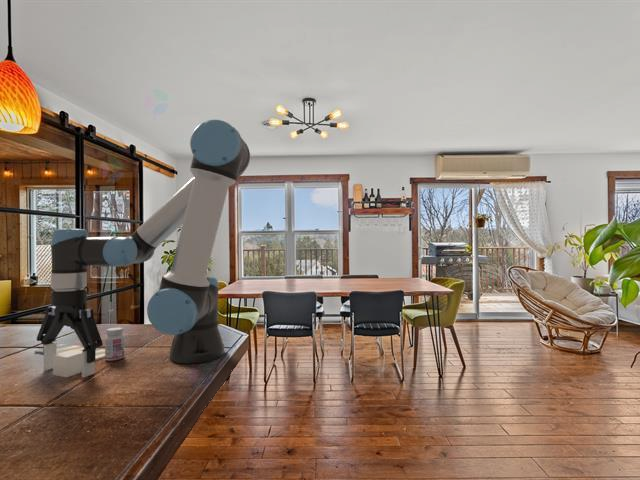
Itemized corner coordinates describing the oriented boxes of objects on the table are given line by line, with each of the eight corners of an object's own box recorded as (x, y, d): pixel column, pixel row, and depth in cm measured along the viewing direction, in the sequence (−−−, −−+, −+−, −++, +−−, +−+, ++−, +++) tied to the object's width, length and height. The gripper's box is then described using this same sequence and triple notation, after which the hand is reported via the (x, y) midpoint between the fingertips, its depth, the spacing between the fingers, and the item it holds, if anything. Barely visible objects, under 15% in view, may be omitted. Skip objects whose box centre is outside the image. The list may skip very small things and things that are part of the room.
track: (118, 353, 107) (118, 351, 107) (93, 361, 99) (93, 359, 99) (61, 345, 114) (61, 343, 114) (34, 352, 107) (34, 350, 107)
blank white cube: (86, 370, 92) (86, 351, 92) (66, 377, 88) (67, 357, 88) (72, 368, 94) (72, 349, 94) (52, 375, 89) (53, 355, 89)
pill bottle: (114, 361, 99) (114, 331, 99) (101, 360, 100) (100, 330, 100) (128, 356, 103) (128, 327, 103) (115, 355, 105) (115, 326, 105)
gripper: (119, 289, 90) (118, 373, 90) (50, 285, 99) (49, 361, 98) (91, 293, 83) (90, 384, 83) (20, 288, 92) (19, 370, 91)
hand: (68, 372), depth 91 cm, fingers open, 13 cm apart
